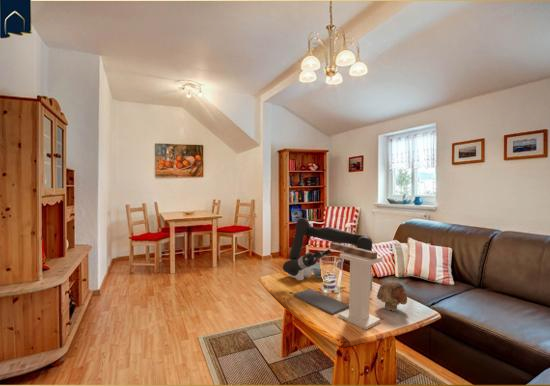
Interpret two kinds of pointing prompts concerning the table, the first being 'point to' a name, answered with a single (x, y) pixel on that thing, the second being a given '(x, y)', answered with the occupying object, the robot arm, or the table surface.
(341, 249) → the walnut bar
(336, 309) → the rubber mat
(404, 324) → the table surface
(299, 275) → the cable organizer
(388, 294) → the sculpture
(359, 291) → the stand
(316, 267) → the chinaware
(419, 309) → the table surface
